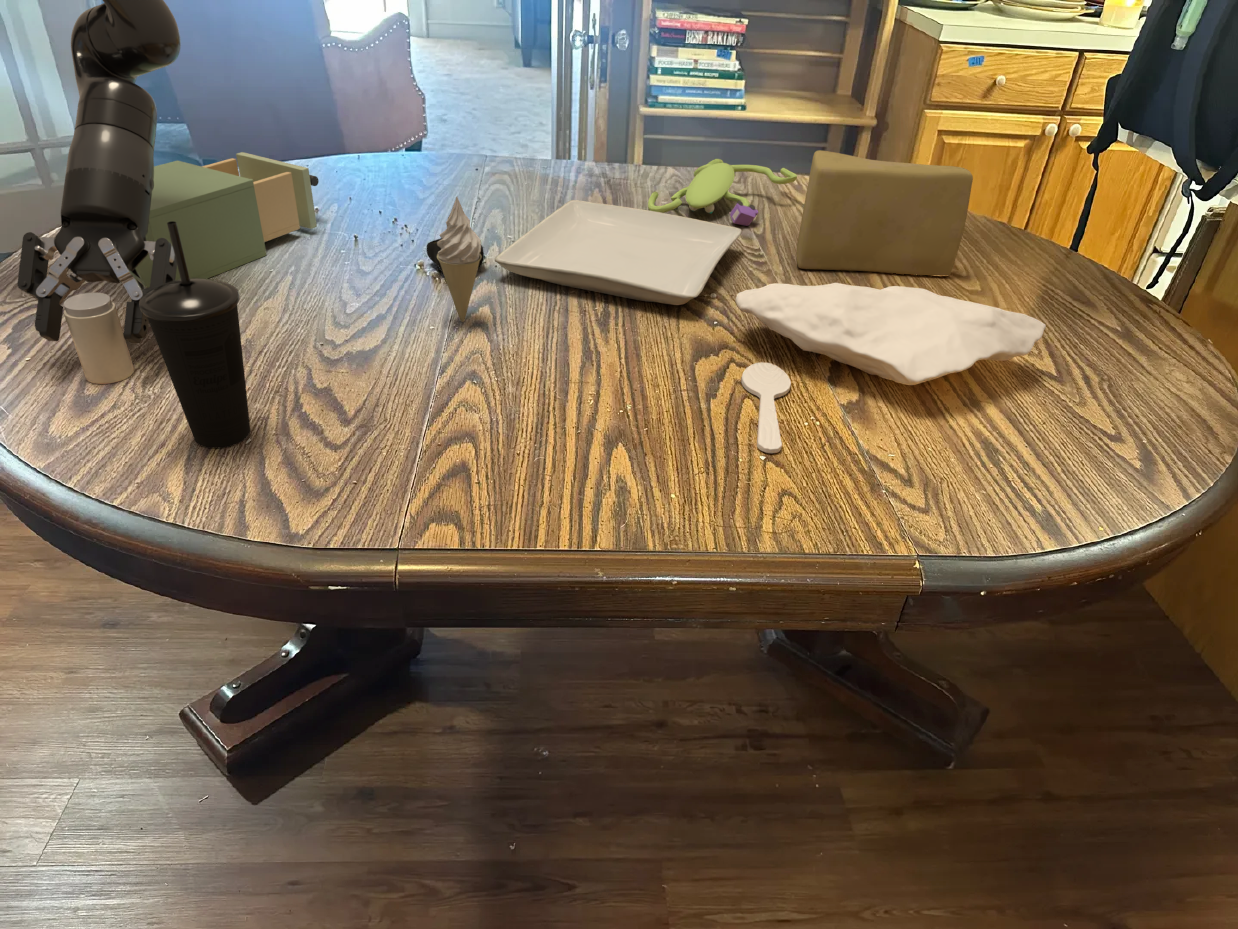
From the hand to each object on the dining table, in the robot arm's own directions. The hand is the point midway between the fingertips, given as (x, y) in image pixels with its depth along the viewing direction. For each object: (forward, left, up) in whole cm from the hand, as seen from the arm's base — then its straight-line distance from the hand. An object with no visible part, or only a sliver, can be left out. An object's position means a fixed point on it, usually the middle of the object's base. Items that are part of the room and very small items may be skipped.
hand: (90, 339), depth 83 cm
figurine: (+30, +93, -5) cm, 98 cm away
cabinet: (-19, +25, -4) cm, 32 cm away
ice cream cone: (+21, +31, -5) cm, 38 cm away
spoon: (+59, +32, -5) cm, 68 cm away
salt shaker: (-1, +1, -4) cm, 5 cm away
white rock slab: (+67, +49, -5) cm, 84 cm away
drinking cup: (+17, -1, -5) cm, 18 cm away
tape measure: (+11, +43, -5) cm, 45 cm away
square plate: (+29, +58, -5) cm, 65 cm away
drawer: (-19, +38, -4) cm, 43 cm away
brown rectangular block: (+59, +79, -5) cm, 99 cm away
